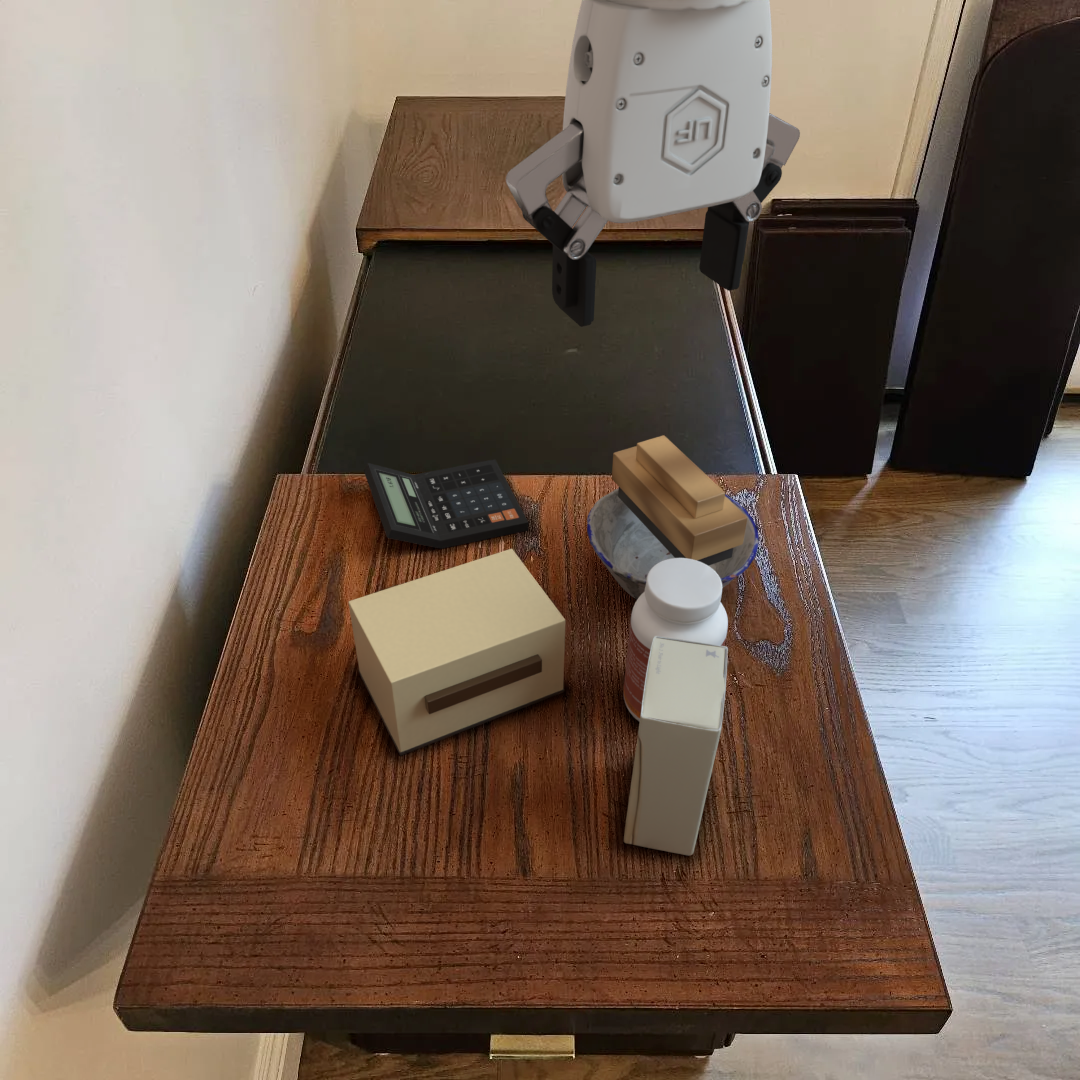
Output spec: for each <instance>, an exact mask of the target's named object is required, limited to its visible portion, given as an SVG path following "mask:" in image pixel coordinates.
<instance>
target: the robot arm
mask: <svg viewBox="0 0 1080 1080" xmlns="http://www.w3.org/2000/svg"><path fill="white" fill-rule="evenodd" d="M770 1H771V0H581V2H580V7H579V12H578V14H577V19H576V25H575V30H574V34H573V39H572V45H571V52H570V57H569V64H568V73H567V80H566V88H565V97H564V107H563V109H564V110H563V119H562V130H561V131H560V132H559V133H557V134H556V135H554V136H553V137H552V138H551V139H549V140H547V142H545V143H544V144H542V145H541V146H540V147H539V148H537V149H536V150H534V152H532V153H531V154H530V155H528V156H526V157H525V158H524V159H523V160H521V161H520V162H519V163H517V165H514V167H512V168H511V169H510V170H509V171H508V172H507V174H506V176H505V183H506V186H507V187H508V189H509V191H510V193H511V195H512V197H513V199H514V200H515V202H516V205H517V207H518V208H519V209H520V210H521V213H522V214H521V215H522V217H523V219H524V220H525V221H526V223H528V224H529V225H530V226H531V227H533V229H535V230H536V231H537V232H538V233H539V234H541V236H543V237H544V238H545V239H546V240H547V241H549V242H550V244H552V263H551V264H552V267H551V269H552V270H551V271H552V272H551V295H552V298H553V301H554V304H555V305H557V307H558V308H559V309H560V310H561V311H562V312H564V314H566V315H567V316H568V317H569V318H570V319H571V320H572V321H573V322H575V323H576V324H577V325H578V326H579V327H580V328H583V327H587V326H590V325H592V322H594V321H595V304H596V303H595V302H596V283H597V282H596V280H597V259H596V257H595V256H594V255H593V254H591V253H590V252H588V251H589V249H590V248H591V246H592V245H593V243H594V242H595V240H596V239H597V238H598V237H599V234H600V233H601V232H602V230H604V228H605V226H606V225H607V223H608V222H610V223H614V224H629V223H635V222H641V221H647V220H652V219H657V218H662V217H667V216H672V215H677V214H682V213H687V212H691V211H696V210H701V209H707V210H706V212H705V214H704V215H705V216H704V225H703V232H702V233H703V234H702V240H701V241H702V242H701V251H700V259H699V272H700V273H701V274H703V276H706V277H707V278H708V279H710V280H712V281H713V282H714V283H716V284H717V285H718V286H720V287H721V288H723V289H724V290H726V291H728V292H731V291H734V290H735V291H736V290H738V289H739V288H740V285H741V278H742V277H741V276H742V272H743V271H742V270H743V265H744V261H745V255H746V254H745V253H746V247H747V242H748V241H747V240H748V234H749V226H750V223H751V222H754V221H756V220H757V219H759V217H760V216H761V213H762V210H763V205H762V203H763V201H764V200H765V199H766V198H767V197H768V196H769V194H770V193H771V192H772V191H773V190H774V189H775V187H777V185H778V183H779V182H780V181H781V179H782V177H783V169H782V168H783V166H786V164H787V162H788V161H789V158H790V156H791V155H792V154H793V151H794V150H795V147H796V145H797V144H798V142H799V139H800V138H801V137H800V136H801V132H800V129H799V128H798V127H797V126H794V125H793V124H790V123H789V122H787V121H785V120H783V119H782V118H780V117H778V116H776V115H775V114H773V113H771V112H770V110H771V109H770V108H771V107H770V106H771V92H772V75H773V74H772V73H773V29H772V14H771V12H772V11H771V3H770ZM560 176H561V179H562V184H563V188H564V190H565V192H566V193H565V195H564V196H563V197H562V199H561V200H560V202H559V203H558V205H557V206H556V208H555V209H554V210H553V208H552V206H551V204H550V203H549V199H548V196H547V188H548V187H549V185H550V184H551V183H553V182H554V181H555V180H556V179H558V178H559V177H560Z"/></svg>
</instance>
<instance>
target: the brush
mask: <svg viewBox="0 0 1080 1080" xmlns="http://www.w3.org/2000/svg"><path fill="white" fill-rule="evenodd" d="M611 480H612V481H613V482H614V483H615V484H616V485H617V486H618V488H619V489H618V488H617V489H618V497H619V498H620V499H621V500H622V501H623V503H624V504H625V505H626V506H627V507H628V508H629V509H630V510H631V511H632V512H633V513H634V514H635V515H636V517H637V518H638V519H639V520H640V521H641V522H642V523H643V524H644V525H645V526H646V527H647V528H648V529H649V531H650V532H651V533H652V534H653V535H654V536H655V537H656V538H657V539H658V540H659V541H660V542H661V544H662V545H663V546H664V547H665V548H666V549H667V550H668V551H669V552H670V553H671V554H672V555H673V556H674V558H688V559H693V560H697V561H699V562H702V563H704V564H706V565H708V566H709V565H712V564H715V563H717V562H720V561H723V560H726V559H729V558H731V557H732V554H733V548H734V547H737V546H739V545H742V544H743V541H744V535H745V530H746V524H747V519H748V518H747V516H746V515H744V514H743V513H742V512H741V511H740V510H739V509H738V508H737V507H736V506H735V505H734V504H733V503H732V502H731V501H730V500H729V499H728V498H726V497H725V494H726V492H725V491H724V490H723V489H722V488H721V487H720V486H719V485H718V484H716V482H715V481H713V479H711V478H710V477H709V476H708V475H707V474H706V473H705V472H704V471H703V470H702V469H701V468H700V467H699V466H698V465H696V464H695V462H693V461H692V460H691V459H690V458H689V457H688V456H687V455H686V454H685V453H684V452H683V451H681V450H680V449H679V448H678V447H677V445H675V444H674V443H673V442H672V441H671V440H670V439H669V438H668V437H667V436H665V434H664V435H663V434H662V435H660V436H656V437H653V438H649V439H646V440H643V441H640V442H637V443H636V446H632V447H628V448H625V449H622V450H618V451H615V452H613V455H612V470H611Z"/></svg>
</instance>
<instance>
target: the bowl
mask: <svg viewBox="0 0 1080 1080" xmlns="http://www.w3.org/2000/svg"><path fill="white" fill-rule="evenodd" d="M618 489H619V487H618V488H615V489H614V490H613V491H611V492H609V493H607V494H606V495H604V496H602V497H599V499H598V500H597V501H596V502H595V503H594V504H593V506H592V507H591V509H589V512H588V514H587V518H586V529H587V530H586V532H587V536H588V540H589V544H590V545H591V547H592V549H593V550H594V552H595V554H596V555H597V557H598V558H599V559H600V561H601V562H602V563H603V565H604V566H605V568H606V569H607V571H608V572H609V573H610V574H611V575H612V577H613V578H614V579H615V581H616V582H617V583H618V585H619V586H620V587H621V588H622V589H623V591H624V592H626V593H627V594H628V595H629V596H631V597H632V598H633V599H635V600H636V601H637V599H638V598H639V597H640V596H641V594H643V593H644V592H645V586H646V580H647V576H648V573H649V571H650V570H651V569H652V568H653V567H654V566H655V565H656V564H658V563H659V562H661V561H664V560H667V559H672V558H674V556H673V555H672V554H671V553H670V552H669V551H668V550H667V549H666V548H665V547H664V546H663V545H662V544H661V542H660V541H659V540H658V539H657V538H656V537H655V536H654V535H653V534H652V533H651V532H650V531H649V529H648V528H647V527H646V526H645V525H644V524H643V523H642V522H641V521H640V520H639V519H638V518H637V517H636V515H635V514H634V513H633V512H632V511H631V510H630V509H629V508H628V507H627V506H626V505H625V504H624V503H623V501H622V500H621V499H620V498H619V497H618ZM725 497H726V498H728V499H729V500H730V501H731V502H732V503H733V504H734V505H735V506H736V507H737V508H738V509H739V510H740V511H741V512H742V513H743V514H744V515H746V516H747V518H748V519H747V524H746V530H745V535H744V541H743V544H742V545H739V546H737V547H734V548H733V554H732V557H731V558H729V559H726V560H723V561H720V562H717V563H715V564H712V565H709V567H711V568H712V569H713V570H714V571H715V572H716V573H717V574H718V575H719V577H720V579H721V582H722V589H724V588H725V587H726V586H729V584H730V583H731V582H732V581H733V580H735V579H736V578H738V577H739V576H741V575H742V574H743V573H744V572H746V571H747V570H748V569H749V567H750V566H751V565H752V563H753V562H754V560H755V558H756V556H757V553H758V549H759V543H760V542H759V541H760V539H759V538H760V537H759V530H758V529H759V526H758V525H757V524H756V522H755V520H754V518H753V517H752V516H751V515H750V513H749V512H748V511H747V509H746V508H745V507H743V506H742V505H741V504H740V503H739V502H738V501H736V500H734V499H733V498H732V497H731V496H729V494H727V493H725Z"/></svg>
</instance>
